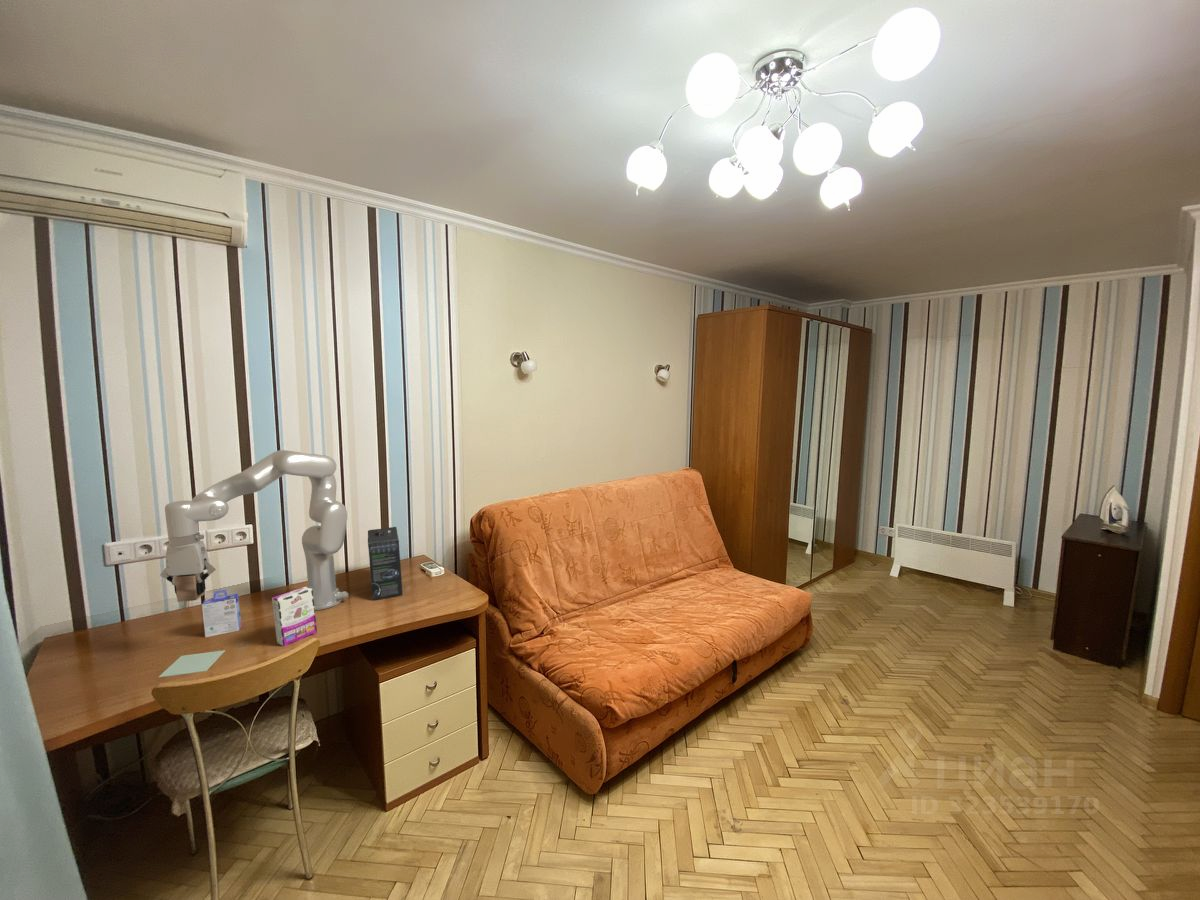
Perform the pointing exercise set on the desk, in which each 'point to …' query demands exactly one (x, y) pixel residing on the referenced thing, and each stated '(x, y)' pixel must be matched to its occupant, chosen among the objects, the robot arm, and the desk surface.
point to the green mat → (192, 663)
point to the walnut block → (186, 588)
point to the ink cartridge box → (221, 614)
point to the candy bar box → (294, 615)
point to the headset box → (384, 563)
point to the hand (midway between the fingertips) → (190, 593)
